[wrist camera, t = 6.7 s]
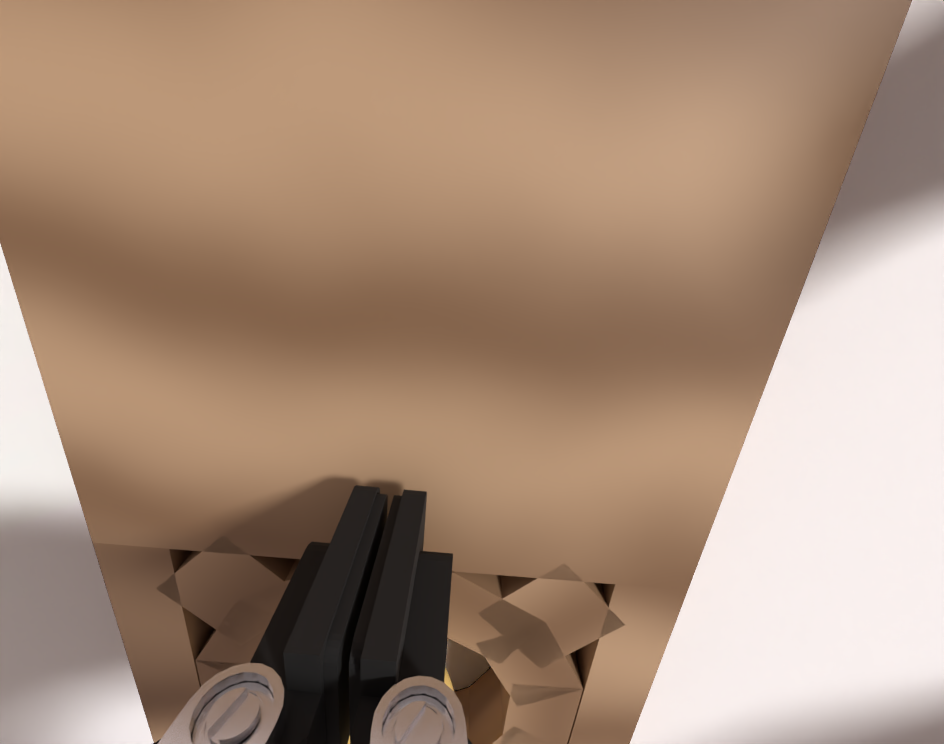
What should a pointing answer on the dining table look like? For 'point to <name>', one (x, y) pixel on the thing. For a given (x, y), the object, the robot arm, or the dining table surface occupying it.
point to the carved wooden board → (420, 302)
